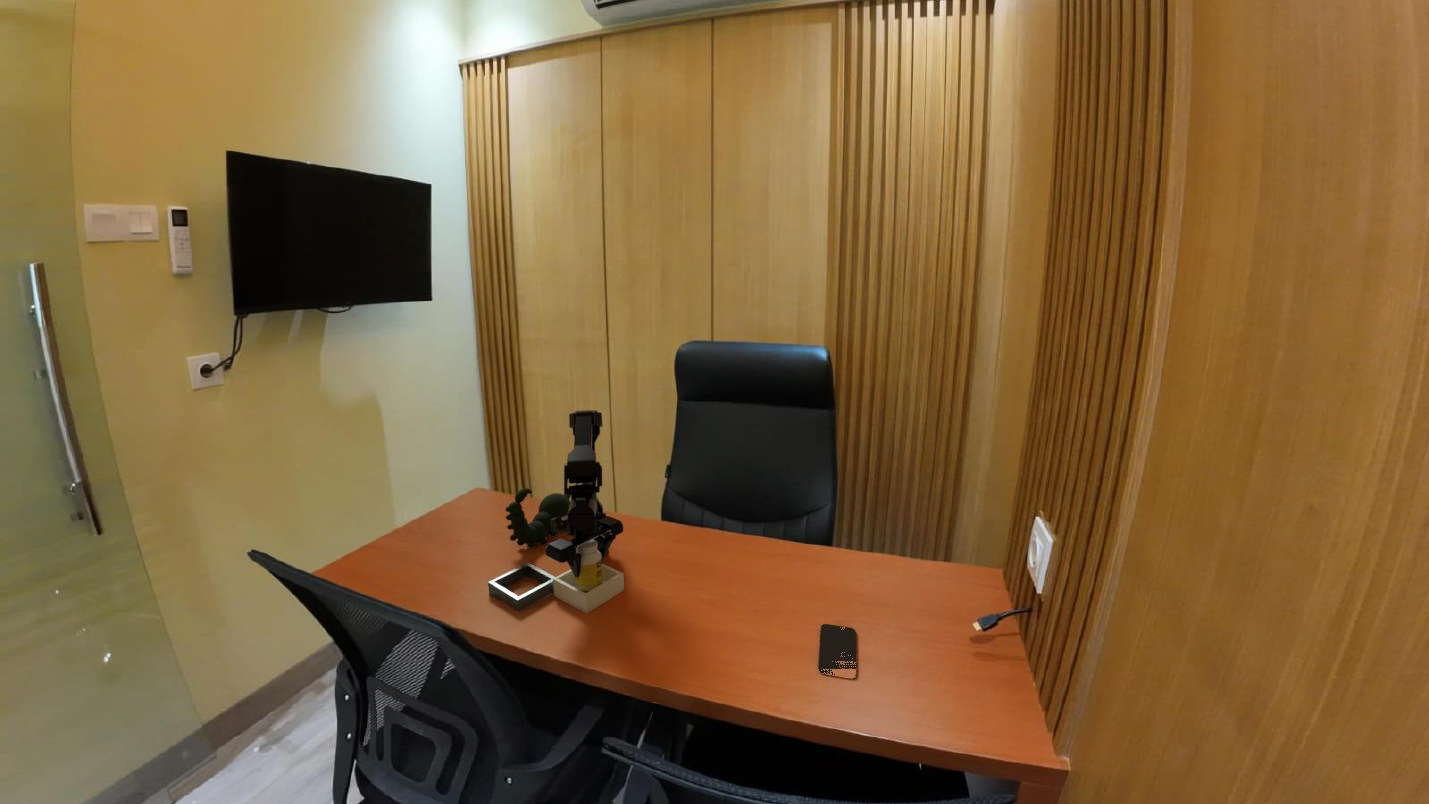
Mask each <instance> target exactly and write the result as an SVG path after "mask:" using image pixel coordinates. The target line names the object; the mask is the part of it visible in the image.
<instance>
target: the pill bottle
mask: <svg viewBox="0 0 1429 804" xmlns="http://www.w3.org/2000/svg"><path fill="white" fill-rule="evenodd" d="M597 548H598V545H597V541H596V540H591V541H589V542H587V543H585V544H583V545H581V546H579V547H577V551H578V552H577V553H579V554H581V555H582V557H581V566H580V574H579V577H578V578H577V577H575V576H574V578H575V588H577V589H579V590H581V591H582V592H584V593H587V592H589V591H591V590H592V589H594V588H596V587H597V586H599V585H601V584H602V564H603V562H602V555H601V553H600V551H598V550H597Z"/></svg>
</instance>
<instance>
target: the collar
mask: <svg viewBox="0 0 1429 804" xmlns="http://www.w3.org/2000/svg"><path fill="white" fill-rule="evenodd" d="M525 577H526V578H527V577H529V578H530V579H532V580H534V581H536V582H538V583H540V584H539V585H538V586H536V587H535V588H532V589H531V590H528V591H527V592H525V593H523V594H521V595H517V594H515V593H514V592H512V591H510V590H509V589H507V588H508V587H510V586H511V585H514V584H515V583H518V582H520V581H522V580H523V578H524V579H525ZM555 577H556V576H555V575H553V574H551V573H549V572H547V571H545V570H543V569H541V568H539V567H537V566H535V565H533V564H531V563H530V562H527V563H524V564H522V565H520V566H519V567H516V568H515V569H512V570H510V571H508V572H505V573H504V574H502V575H500V576H498V577H495V578H494V579H492V580H489V581H488V582H487V585H488V593H489V595H491V596H492V597H495V598H496V599H498V600H499V601H501V602H502V603H504V604H505V605H507V606H509V607H510V608H511V609H514V610H515V611H516V612H521V611H523V610H525V609H527V608H529V607H531V606H532V605H534V604H535V603H538V602H539V601H542V600H543V599H545V598H546V597H548V596H551V594H554V588H553V578H555ZM519 580H520V581H519Z"/></svg>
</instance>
